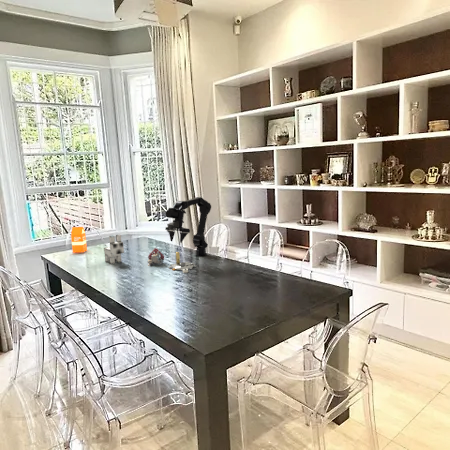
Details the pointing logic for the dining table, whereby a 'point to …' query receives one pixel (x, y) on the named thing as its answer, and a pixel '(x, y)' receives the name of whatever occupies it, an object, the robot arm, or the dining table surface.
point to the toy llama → (114, 250)
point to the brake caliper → (155, 257)
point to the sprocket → (181, 264)
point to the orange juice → (78, 239)
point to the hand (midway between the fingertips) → (176, 241)
